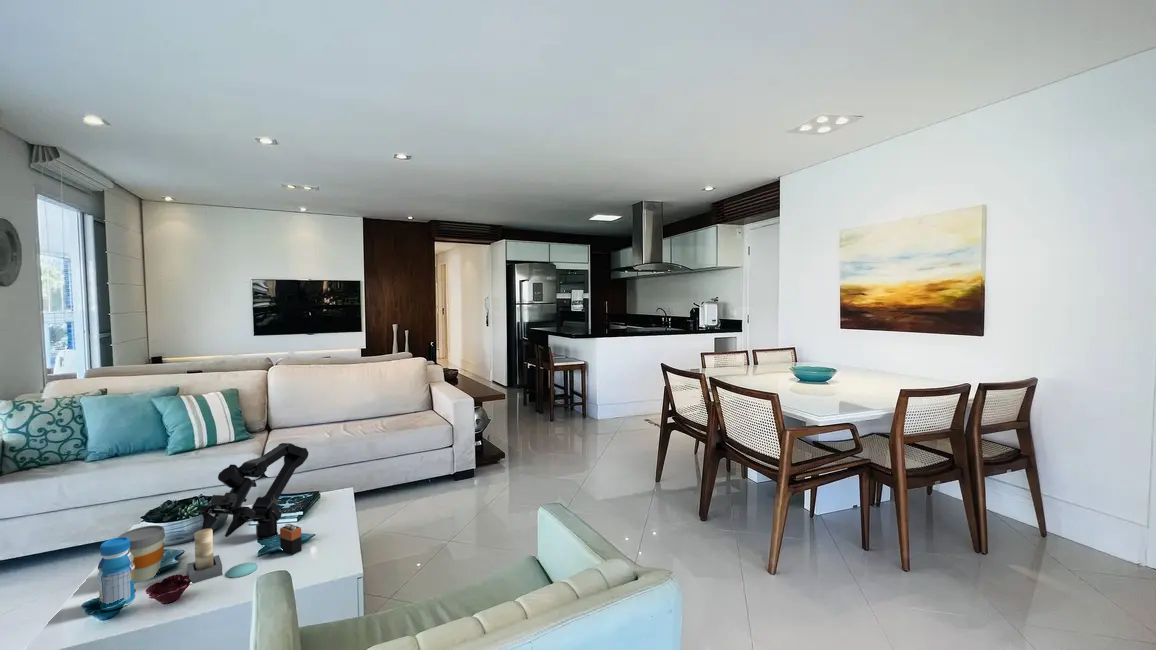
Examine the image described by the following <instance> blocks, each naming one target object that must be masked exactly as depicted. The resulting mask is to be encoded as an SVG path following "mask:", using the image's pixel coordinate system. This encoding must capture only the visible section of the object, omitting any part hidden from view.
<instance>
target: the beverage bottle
mask: <svg viewBox="0 0 1156 650" xmlns="http://www.w3.org/2000/svg"><path fill="white" fill-rule="evenodd" d="M99 548H100V552H99V553H100V556H101V559H100V560H99V562H98V565H97V570H98V573H97V580H98V591H99V593H98V594H99V595H98V596H99V602H100V601H101V602H102V603H106V604H109V603H113V602H115V601H117V600H120V599H122V598H125V599H126V605H127V606H128V605H130V604H132V603H133V602H134V601H135V599H136V592H135V583H134V569H135V565H134V563H133V560H134V557H133V555H132V554H131V552H129V551H128V550H129V549H130V539H129V537H119V536H118V537H114V538H111V539H108V540H105V541H104V542H102V543H101V545H100V547H99Z"/></svg>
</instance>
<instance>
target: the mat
mask: <svg viewBox="0 0 1156 650" xmlns="http://www.w3.org/2000/svg"><path fill="white" fill-rule="evenodd" d="M257 569H258V564H257V563H256V562H249V561H248V562H243V563H239V564H237V565H233V566H232V567H230V568H229V569H228V570H227V571H226V573H225V574H226V577H227V576H228V577H227V578H229V577H233V578H232V579H236V578H235V577H238V578H242V577H246V576H249V575H250V574H252V573H254V572H256V571H257Z"/></svg>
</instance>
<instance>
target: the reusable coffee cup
mask: <svg viewBox="0 0 1156 650" xmlns="http://www.w3.org/2000/svg"><path fill="white" fill-rule="evenodd" d="M118 537H129V539H130V549H129V550H128V551H129V552H131V554H132V555H133V557H134V560H133V563H134V565H135V569H134V584H137V583H143V582H144V581H148V580H151V579H152V578H154V576H155V575H156V573H157V571H158V569H159V568H160V569H161V563H162V559H163V558H164V551H165V542H164V539H165V537H166V531H165V528H164V526H163V525H152V524H151V525H145V526H141V527H137V528H133V529H130V530H128V531H125V532H123V533H121V534H120V535H119V536H118ZM156 576H157V575H156ZM156 576H155V577H156Z"/></svg>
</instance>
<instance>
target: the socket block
mask: <svg viewBox="0 0 1156 650" xmlns="http://www.w3.org/2000/svg"><path fill="white" fill-rule="evenodd" d="M213 563H214V566H210V567H207V568H203V569H200V570H196V571H195V561H192V562H189V563H186V574H187V577H188V576H189V579H190V580H191V582H192V583H194V584H197V583H201V582H203V581H207V580H210V579H214V578H217V577H220V576H222V575H223V564H222V560H221V558H220V555H219V554H218V555H213Z"/></svg>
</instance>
